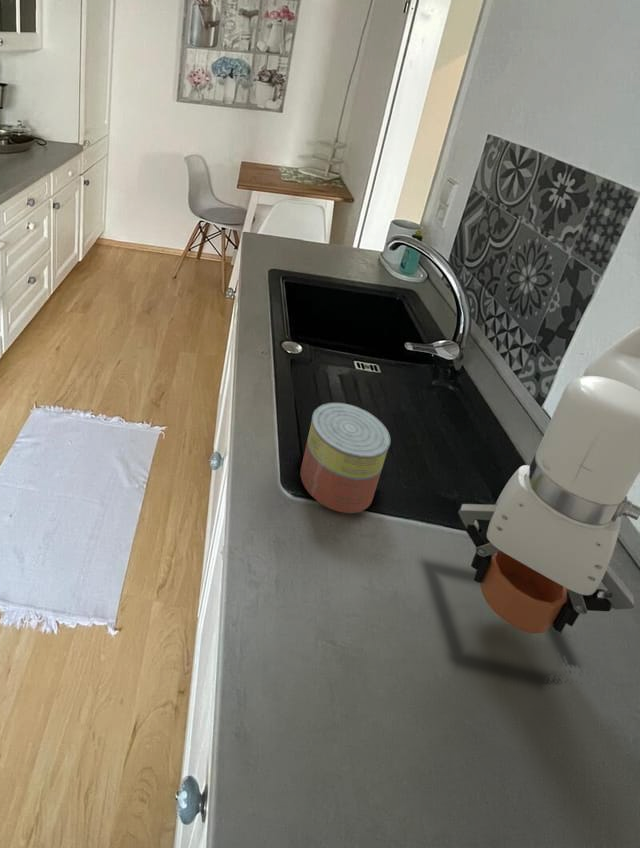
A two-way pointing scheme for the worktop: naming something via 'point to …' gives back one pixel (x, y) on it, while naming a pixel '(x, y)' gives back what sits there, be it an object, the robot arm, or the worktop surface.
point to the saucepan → (522, 594)
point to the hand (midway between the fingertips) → (517, 595)
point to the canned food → (344, 457)
